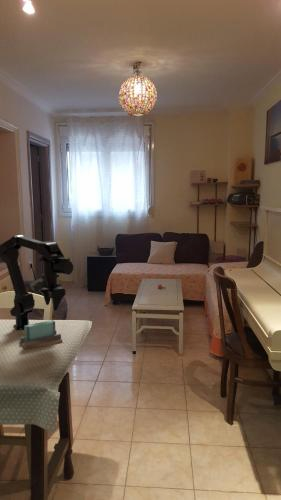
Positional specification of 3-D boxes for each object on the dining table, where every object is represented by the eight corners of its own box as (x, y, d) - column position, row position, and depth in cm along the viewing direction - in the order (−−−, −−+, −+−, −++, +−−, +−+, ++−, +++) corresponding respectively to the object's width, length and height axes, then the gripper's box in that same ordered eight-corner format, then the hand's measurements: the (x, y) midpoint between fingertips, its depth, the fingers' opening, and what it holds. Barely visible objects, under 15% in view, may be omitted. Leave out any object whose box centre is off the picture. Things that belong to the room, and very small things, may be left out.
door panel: (53, 336, 155) (53, 320, 154) (55, 337, 153) (55, 321, 152) (25, 342, 148) (24, 325, 147) (26, 344, 146) (26, 327, 145)
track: (19, 342, 150) (19, 336, 150) (54, 335, 159) (54, 328, 158) (26, 350, 143) (25, 343, 142) (62, 342, 151) (62, 335, 151)
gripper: (24, 270, 159) (25, 305, 161) (39, 278, 143) (40, 316, 146) (49, 267, 165) (50, 301, 167) (65, 275, 150) (66, 312, 152)
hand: (51, 307), depth 158 cm, fingers open, 9 cm apart
